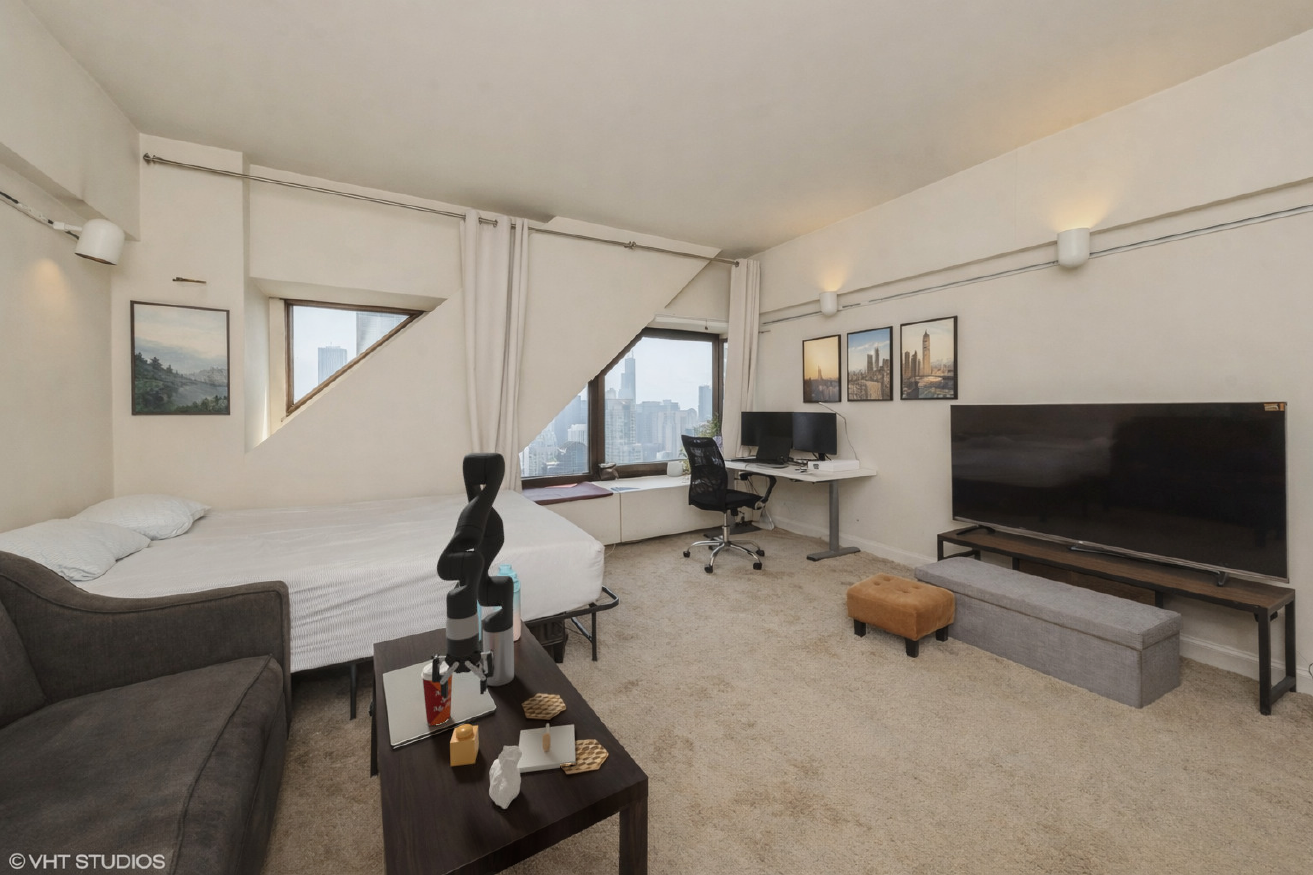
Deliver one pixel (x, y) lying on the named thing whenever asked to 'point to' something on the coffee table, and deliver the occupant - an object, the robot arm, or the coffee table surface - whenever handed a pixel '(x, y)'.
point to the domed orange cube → (464, 745)
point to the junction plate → (554, 752)
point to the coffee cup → (436, 696)
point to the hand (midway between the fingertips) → (464, 694)
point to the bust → (505, 776)
